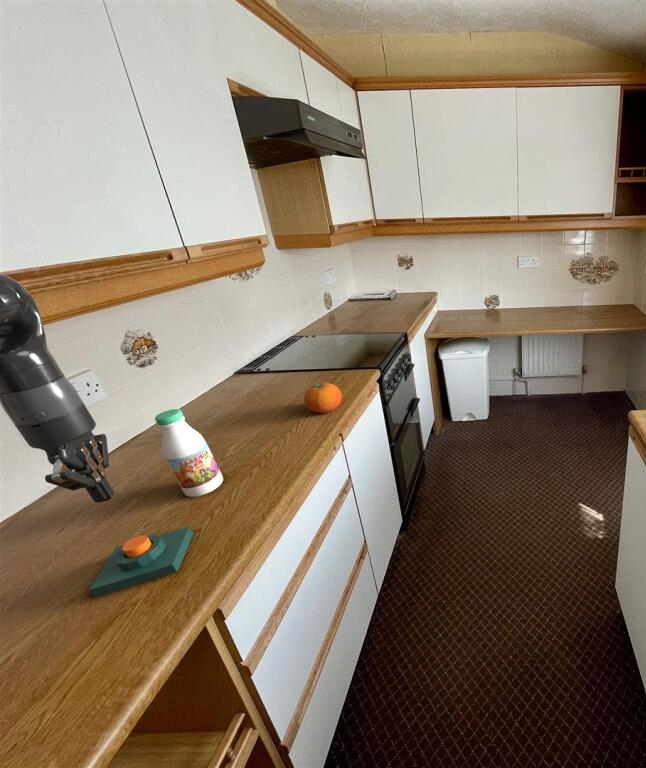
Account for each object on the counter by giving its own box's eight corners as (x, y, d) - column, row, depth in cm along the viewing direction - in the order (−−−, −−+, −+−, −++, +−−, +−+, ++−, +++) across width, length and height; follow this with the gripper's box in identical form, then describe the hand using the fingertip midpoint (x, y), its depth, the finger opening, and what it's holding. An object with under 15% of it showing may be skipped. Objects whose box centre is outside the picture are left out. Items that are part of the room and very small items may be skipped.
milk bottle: (176, 495, 93) (135, 421, 85) (208, 474, 100) (172, 403, 91) (201, 500, 91) (161, 424, 82) (231, 478, 98) (197, 406, 89)
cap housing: (95, 598, 70) (83, 582, 68) (121, 555, 78) (110, 540, 76) (178, 573, 73) (168, 557, 71) (194, 534, 82) (185, 519, 80)
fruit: (349, 409, 126) (342, 386, 122) (314, 421, 120) (306, 398, 116) (337, 398, 133) (331, 376, 130) (304, 409, 128) (297, 386, 124)
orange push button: (123, 560, 72) (118, 553, 71) (131, 546, 75) (127, 539, 74) (147, 553, 73) (143, 546, 72) (154, 539, 76) (150, 532, 75)
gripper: (42, 397, 66) (97, 482, 73) (-17, 438, 54) (55, 533, 62) (100, 387, 68) (147, 470, 75) (54, 424, 57) (115, 517, 64)
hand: (105, 498), depth 69 cm, fingers closed
